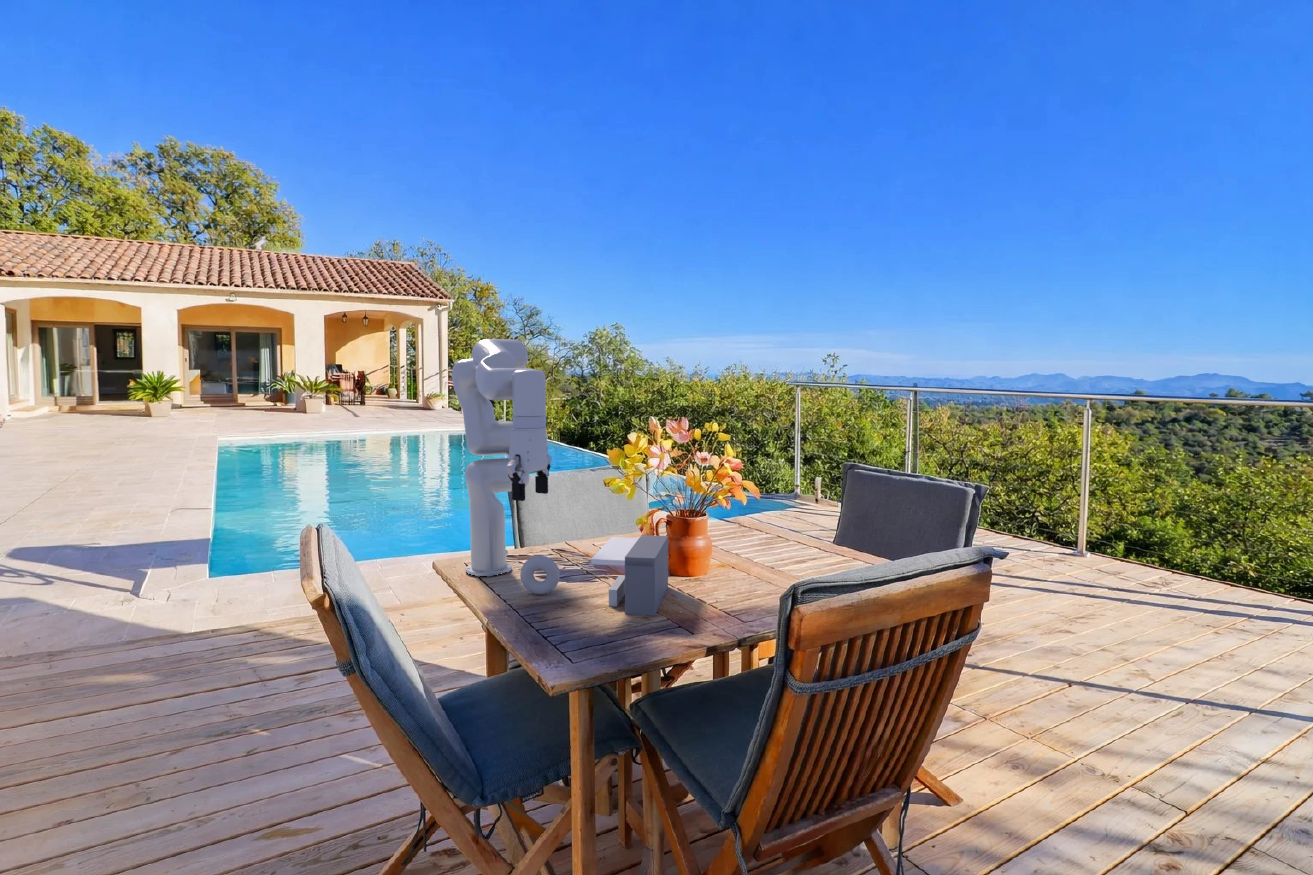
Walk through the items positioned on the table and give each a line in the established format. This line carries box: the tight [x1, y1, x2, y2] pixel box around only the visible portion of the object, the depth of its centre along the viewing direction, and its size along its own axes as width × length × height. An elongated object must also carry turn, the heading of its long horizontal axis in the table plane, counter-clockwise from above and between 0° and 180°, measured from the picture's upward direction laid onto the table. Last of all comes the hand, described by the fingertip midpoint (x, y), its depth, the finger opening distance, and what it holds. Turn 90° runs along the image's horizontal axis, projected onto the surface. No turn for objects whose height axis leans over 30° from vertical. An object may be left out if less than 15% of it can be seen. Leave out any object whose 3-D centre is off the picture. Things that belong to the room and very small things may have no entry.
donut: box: [519, 555, 561, 596], centre depth 177 cm, size 10×4×10 cm, turn 89°
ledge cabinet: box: [590, 534, 669, 617], centre depth 174 cm, size 22×15×14 cm
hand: (530, 496), depth 164 cm, fingers open, 9 cm apart
